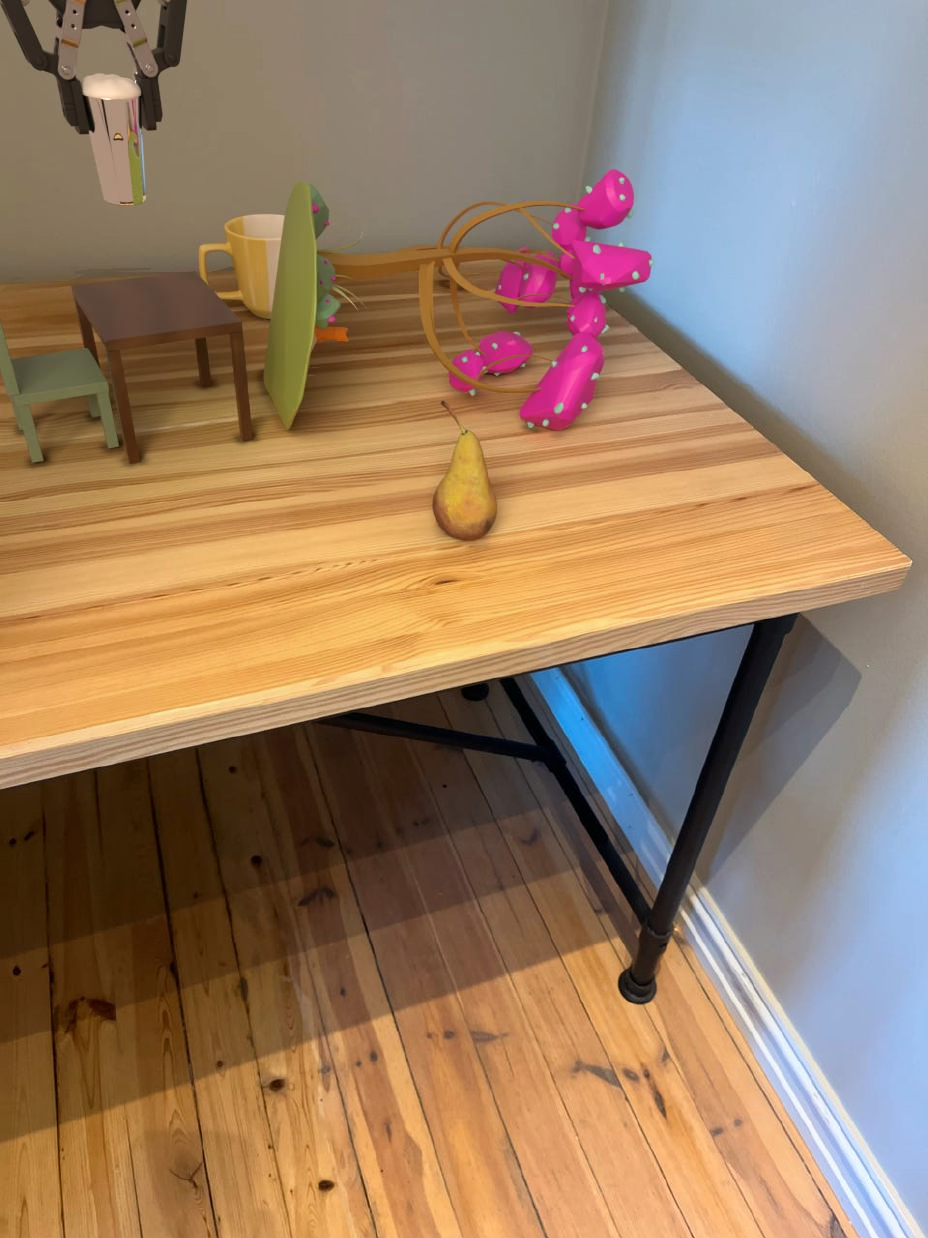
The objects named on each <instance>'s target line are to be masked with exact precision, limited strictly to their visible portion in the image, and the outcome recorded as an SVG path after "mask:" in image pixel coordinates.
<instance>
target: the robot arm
mask: <svg viewBox="0 0 928 1238" xmlns="http://www.w3.org/2000/svg"><path fill="white" fill-rule="evenodd" d="M30 1H31V0H0V7H1V9H2V12H3V14H4V16H5V18H6V20H7V23H8V25H9V26H10V28H11V31H12V33H13V35H14V37H15V39H16V42H17V44H18V45H19V47H20V50H21V52H22V54H23V56H24V59H25V60H26V62H27V63H29V65H31V66H32V68H34V69H35V70H36V71H38V72H39V71H40V72H45V73H49V74H51V75H53V76H54V78H55V79H56V84H57V90H58V96H59V100H60V105H61V111H62V115H63V118H64V119H65V121H66V122H67V124H68V125H69V126H70V127H74V130H75V132H76V133H77V134H78V135H90V134H89V128H88V122H87V117H86V111H85V106H84V100H83V94H82V89H81V83H80V82H81V80H80V79H79V78H77V75H76V68H77V62H78V61H77V60H78V52H79V48H80V45H81V42H82V41H81V39H82V31H83V30H92V29H95V28H98V27H105V28H108V29H113V30H117V31H118V33H119V35H120V37H121V39H122V40H123V42H124V44H125V46H126V48H127V51H128V53H129V55H130V57H131V59H132V62H133V65H134V64H135V66H136V68H137V74H134V76H135V79H136V84H137V85H138V86H139V87H140V89H141V104H142V128H143V129H144V130H145V131H147V132H149V131H150V132H152V131H157V130H158V126H157V123H161V122H162V120H163V116H164V113H163V107H162V106H163V105H162V100H161V91H160V84H159V76H160V74H161V73H162V72H163V71H166V70H168V69H170V68H176V67H178V66H179V65H180V62H181V57H182V56H181V55H182V49H183V48H182V46H183V39H184V30H185V22H186V14H187V5H188V0H155V1H156V2H157V3H158V5H160V10H159V20H158V30H157V38H156V45H155V46H156V47H155V48H153V49H151V47H150V45H149V42H148V37H147V34H146V32H145V30H144V28H143V25H142V23H141V20H140V17H139V16H138V13H137V10H138V8H139V6H140V4H141V2H142V0H48V2H49V3H50V4H51V5H52V7H53V8H54V19H53V21H54V22H53V44H52V52H50V51H47V50H45V49H43V47H42V44H41V42H40V40H39V37H38V36H37V34H36V31H35V29H34V27H33V24H32V22H31V20H30V18H29V16H28V14H27V11H26V9H25V7H26V6H27V5H29V3H30Z"/></svg>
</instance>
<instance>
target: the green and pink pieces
mask: <svg viewBox="0 0 928 1238" xmlns="http://www.w3.org/2000/svg"><path fill="white" fill-rule="evenodd" d="M293 185H294V186H293V187H292V189H291V191H290V194H289V197H288V200H287V204H286V208H285V212H284V215H285V216H284V223H283V230H282V238H281V245H280V253H279V260H278V268H277V275H276V283H275V290H274V298H273V305H272V313H271V319H269V320H270V321H269V329H268V336H267V343H266V350H265V351H266V352H265V359H264V366H263V378H262V380H263V385H264V387H265V390H266V391H267V394H268V395H269V398H270V400H271V401H272V404H273V405H274V408H275V410H276V411H277V414H278V416H279V418H280V419H281V422H282V424H283V426H284V428H285V430H289V429H290V428H291V427H292V425H293V422H294V420H295V418H296V415H297V414H298V411H299V410H300V406H301V403H302V401H303V399H304V394H305V390H306V389H305V387H306V383H307V378H308V377H313V376H314V374H310V375H309V373H308V372H309V368H310V367H309V366H310V361H311V355H312V352H313V349H314V347H315V345H316V343H317V342H318V343H319V342H320V343H323V342H325V341H328V340H329V341H330V340H331V341H335V342H337V343H339V342H345V343H347V342H350V339H349V338H348V337H347V332H348V331H349V328H347V327H345V326H329V325H330V324H333V323H334V322H335V319H336V317H335V315H336V314H337V312H338V311H339V310H340V309H341V303H340V301H339V300H338V299H336V298H335V296H334V295H332V294H330V293H329V292H330V291H331V290H333V291H335V292H336V293H338V294H339V295H341V296H342V297H344V298H345V299H346V300H347V301H349V303H351V305H352V306H354V307H355V308H356V310H358V308H357V307H356V305H355V304H354V302H353V301H352V300H351V299H350V298H349V297H348V296H347V295H346V293H347V294H350V295H351V296H352V297H354V298H355V299H356V300H357V301H358V302H359V303H360V304H361V305H362V306H363V307H364V308H365V310H366V311H368V309H367V307H366V305H365V304H364V303H363V302H362V300H361V299H360V298H358V296H356V295H355V294H354V293H353V292H351V291H350V290H348V289H347V288H345V287H343V286H340V285H339V284H336V283H334V282H350V281H351V282H352V281H364V280H365V281H366V280H373V279H378V278H383V277H390V276H394V275H399V274H400V275H401V274H405V273H411V272H417V271H418V299H419V300H418V301H419V311H420V312H419V313H420V317H421V319H420V320H421V323H422V327H423V332H424V334H425V338H426V340H427V342H428V345H429V347H430V349H431V351H432V352H433V354H434V356H435V357H436V359H437V360H438V361H439V362H440V364H441V365H442V366H443V367H444V368H445V369H446V370H447V371H448V380H449V384H450V386H451V388H453V389H455V390H457V391H459V392H461V393H465V394H467V393H469V394H470V395H471V396H472V397H474V396H475V395H476V393H477V391H476V389H479V390H484V391H488V392H492V393H499V394H524V393H525V394H527V393H530V394H529V396H528V397H527V399H526V400H525V401H524V403H522V406H521V407H520V409H519V414H518V417H519V418H520V419H521V420H523V421H525V422H526V425H527V427H528V429H532V428H534V426H539V427H542V428H546V429H550V430H554V431H561V430H564V429H566V428H568V427H569V426H571V424H573V422H574V421H575V420H576V419H577V418H578V417H579V416H580V414H581V413H583V411H584V410H586V409H587V408H588V405H589V404H590V403H591V402H592V400H593V399H594V394H595V391H596V385H597V382H598V379H599V378H600V375H601V373H602V371H603V369H604V364H605V356H604V349H603V346H602V345H601V343H600V342H599V341H598V338H599V337H600V335H604V334H605V333H607V332H608V331H610V326H609V324H607V313H606V312H607V307H606V303H607V299H606V298H605V297H604V295H602V291H609V290H614V289H615V290H616V289H617V290H618V291H619V292H620V293H624V292H625V291H626V287H629V286H634V285H638V284H641V283H646V282H647V281H648V280H649V279H650V277H651V271H652V266H654V265H655V261H654V259H653V258H652V257H653V256H652V254H650V252H648V251H647V250H643V249H638V248H633V247H628V246H625V244H624V243H623V241H621V242H618V244H617V245H613V244H607V243H599V242H592V241H591V240H592V237H591V236H590V235H587V227H588V228H591V229H594V230H599V231H600V230H606V229H609V228H613V227H616V226H619V225H620V224H622V223H623V222H624V221H625V219H626V218H627V219H628V220H629V219H632V217H633V214H634V212H633V207H634V202H635V192H634V188H633V184H632V182H631V180H630V179H629V178H628V176H627V175H626V174H625V173H624V172H622V171H620V170H618V169H617V168H616V169H615V168H611V169H609V170H608V171H607V172H606V173H605V174H604V175H603V176H602V177H601V178H600V179H598V181H597V182H596V183H595V184H594V185H593V186H592V187H591V186H590V185H586V186H585V191H586V193H585V194H584V195H583V196H582V198H581V199H579V201H577V203H570V204H569V203H564V202H560V201H559V202H558V201H550V200H532V201H531V200H530V201H523V202H517V203H512V204H506V203H502V202H496V201H482V202H477V203H475V204H472V205H470V206H468V207H465V208H464V209H462V210H461V211H460V212H459V213H457V214H456V215H455V216H454V217H453V218H452V220H450V222H449V223H448V224H447V225H446V226H445V227H444V228H443V230H442V232H441V234H440V237H439V238H438V241H437V244H419V245H411V246H406V247H403V248H400V249H399V248H398V249H397V250H394V251H392V252H381V253H369V254H353V253H352V254H350V253H339V252H342V251H345V250H348V249H350V248H353V247H354V246H356V245H357V244H358V243H359V242H360V241H361V239H362V238H363V235H364V232H362V233H361V235H360V237H359V238H358V239H357V240H356V241H355V242H352V244H349V245H347V246H341V247H334V248H322V249H318V246H317V239H318V238H319V237H320V236H321V235H322V234H323V232H325V230H326V228H327V226H328V227H329V226H330V222H329V218H330V209H329V207H328V206H327V204H326V202H325V200H324V199H323V197H322V196H321V194H320V192H319V191H318V189H317V188H316V187H315V186H314V185H313V184H312V183H306V182H304V181H298V182H296V183H294V184H293ZM487 205H489V206H490V205H492V206H500V207H497V208H493V209H490V210H488V211H484V212H482V213H479V214H478V215H476V216H474V217H472V218H470V219H469V220H468V221H466V222H465V223H464V224H463V225H461V227H460V228H458V230H457V231H456V232H455V234H454V235H453V237H452V238H451V240H450V242H449V244H444V243H445V239H446V237H447V236H448V233H449V232H450V231H451V229H452V228H453V227H454V225H455V224H456V223H457V222H458V221H459V220H461V218H462V217H463V216H464V215H466V214H467V213H468V212H470V211H472V210H474V209H476V208H478V207H481V206H487ZM544 206H545V207H546V206H548V207H549V206H552V207H553V206H554V207H559V208H560V207H561V208H562V209H561V210H560V211H559V212H557V214H556V216H555V218H554V221H553V223H551V222H548V221H546V220H544V219H542V218H540V217H537V216H535V215H532V214H529V212H528V211H527V210H525V208H532V207H544ZM512 211H514V212H518V213H520V214H522V215H523V216H524V217H526V218H527V219H528V220H529V221H530V223H531V224H532V225H533V226H534V227H535V228H536V229H537V230H538V231H539V232H540V233H542V235H543V236H544V237H545V238H547V239H548V240H549V242H551V244H553V245H554V246H555V247H556V248H557V249H558V250H560V251H561V252H562V253H561V254H560V255H559V257H558V258H557V257H556V256H555V254H554V253H553V252H552V251H545V252H543V251H540V250H536V249H528V247H527V246H522V247H521V248H519V249H517V250H516V251H515V250H510V249H506V248H498V247H487V246H486V247H485V246H481V247H480V246H470V247H469V246H467V247H466V246H465V247H464V246H460V244H461V243H462V242H463V239H464V238H465V237H466V235H468V233H469V232H470V231H471V230H473V229H474V228H475V227H477V226H478V225H480V224H481V223H483V222H485V221H488V220H489V219H492V218H494V217H498V216H499V215H500V216H501V215H503V214H506V213H509V212H512ZM534 219H537V220H539V221H542V222H544V223H545V224H548V225H551V226H552V227H551V236H550V235H549V234H548V233H547V232H546V231H545V230H544V229H543V228H542V227H541V226H540V225H539V223H538V222H537V221H535V220H534ZM531 254H535V255H531ZM488 260H490V261H492V260H495V261H496V260H499V261H503V262H505V264H504V266H503V268H502V270H501V271H499V270H487V271H480V272H473V273H464V274H463V273H462V274H461V273H460V272H459V269H460V264H462V263H468V262H479V261H488ZM443 267H445V269H446V271H447V273H448V274H447V273H445V272H443ZM435 268H437V271H438V274H439V275H441V276H442V277H444V278H449V292H450V298H451V303H452V307H453V310H454V313H455V316H456V319H457V320H458V324H459V326H460V328H461V331H462V334H463V336H464V337H465V339H466V340H467V341H468V343H469V344H470V345H471V346H473V347H474V348H475V349H476V350H477V351H475V350H473V349H467V350H465V351H464V352H462V353H460V354H458V355H456V356H455V357H454V358H453V359H452V361H451V360H450V359H449V358H448V357H447V355H446V354H445V352H444V351H443V350H442V347H441V346H440V345H439V344H440V343H439V340H438V336H437V332H436V325H435V315H434V312H435V311H434V270H435ZM491 273H499V277H498V279H497V283H496V286H495V289H494V292H491V291H488V290H483V289H481V288H478V287H477V286H475V285H473V284H472V283H470V281H468V280H466V279H465V278H464V277H471V276H478V275H484V274H491ZM558 274H559V275H560V276H561V277H562V278H564V279H569V281H568V283H569V293H570V297H571V299H567V298H564V297H561V296H557V295H554V292H555V289H556V285H557V281H558ZM458 285H459V286H460V287H461V288H463V289H465V291H467V292H469V293H471V294H473V295H475V296H478V297H480V298H486V299H491V300H494V301H496V302H498V303H499V304H500V306H502V307H503V308H504V310H505V311H506V312H507V313H509V314H510V315H514V314H515V313H516V312H517V311H518V309H519V308H520V306H521V307H522V306H523V307H525V309H529V310H532V309H533V310H534V308H538V307H568V308H567V310H566V314H567V318H566V319H567V320H566V325H567V328H568V330H569V332H570V333H571V335H572V336H573V337H571V339H570V340H569V342H568V343H567V344H566V346H564V349H563V350H562V351H561V352H560V354H559V355H558V356H557V358H556V359H555V360H552V359H549V358H546V357H543V356H538V355H535V354H533V345H531V344H530V343H529V342H528V340H526V339H525V338H524V337H523V336H521V333H520V332H519V331H514V332H509V331H504V330H499V331H496V332H494V333H491V334H488V335H486V336H484V337H483V338H481V339H480V341H479V344H478V345H477V344H476V343H475V342H474V341H473V340H472V338H471V337H470V336H469V334H468V332H467V331H468V330H467V328H466V326H465V325H466V324H465V322H464V318H463V315H462V312H461V309H460V308H461V307H460V305H459V299H458ZM344 292H346V293H344ZM552 298H558V299H562V300H564V301H568V302H570V304H567V303H557V302H547V301H549V300H550V299H552ZM530 358H537V359H542V360H545V361H548V362H551V363H550V365H551V366H549V368H548V369H547V371H546V372H545V374H544V375H543V376H542V378H540V381H539V382H538V383H537V385H536V386H535V388H506V387H499V386H494V385H491V384H488V383H487V384H486V383H484V382H481V381H482V379H483V377H484V374H493V375H494V376H496V377H498V376H499V375H501V374H509V373H512V372H514V371H515V370H516V369H518V368H525V367H526V362H527V361H528V360H529V359H530ZM313 368H314V369H317V368H319V367H314V366H313Z"/></svg>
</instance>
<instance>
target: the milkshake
mask: <svg viewBox="0 0 928 1238" xmlns="http://www.w3.org/2000/svg"><path fill="white" fill-rule="evenodd" d="M134 74H137V68H136V66H135V64H134V63H133V69H132V75H131V78H129V77H122V76H120V75H118V74H115V73H109V74H105V73H102V72H97V73H94V74H92V75H91V74H90V75H86V76H85V77H83V78H82V79H81V80H80V83H81V89H82V94H83V100H84V106H85V111H86V117H87V122H88V128H89V134H88V135H89V139H90V143H91V148H92V152H93V156H94V161H95V166H96V170H97V175H98V178H99V184H100V189H101V192H102V196H103V200H104V202H107V203H108V204H110V205H114V206H119V207H122V206H124V207H126V206H130V207H131V206H138V205H142V204H144V203H145V201H146V200H147V195H146V193H147V192H146V179H145V178H146V174H145V156H144V139H143V138H144V137H143V126H142V104H141V89H140V87H139V86H138V85H137V84H136V79H135V76H134Z"/></svg>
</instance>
